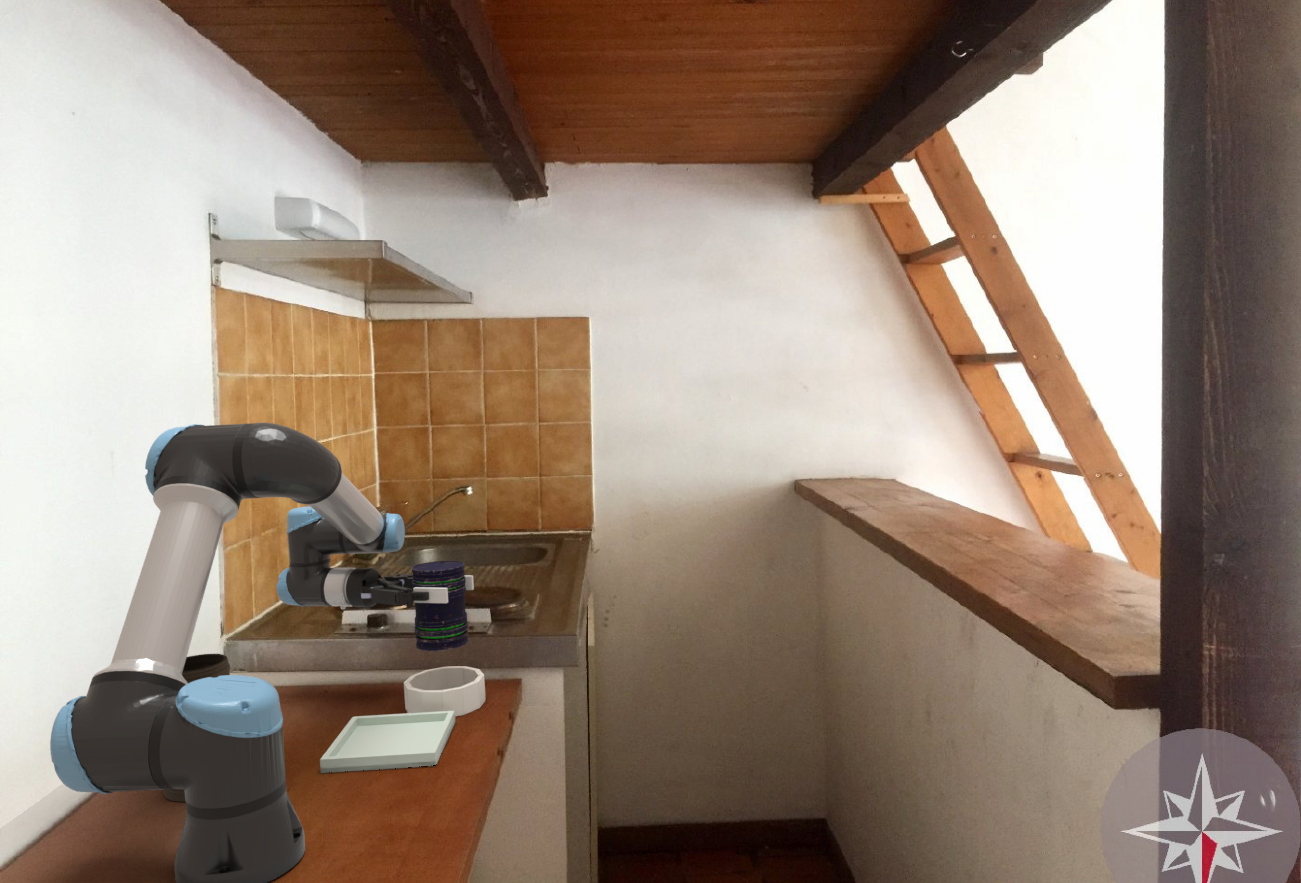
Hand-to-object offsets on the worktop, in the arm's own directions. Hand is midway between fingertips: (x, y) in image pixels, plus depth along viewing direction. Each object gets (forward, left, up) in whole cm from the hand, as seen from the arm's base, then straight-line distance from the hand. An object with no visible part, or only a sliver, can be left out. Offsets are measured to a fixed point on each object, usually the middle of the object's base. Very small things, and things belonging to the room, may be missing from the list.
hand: (460, 588), depth 164 cm
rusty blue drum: (-2, +4, -11) cm, 12 cm away
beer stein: (-46, +13, -23) cm, 53 cm away
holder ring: (-2, +4, -22) cm, 23 cm away
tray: (-20, -3, -22) cm, 30 cm away
